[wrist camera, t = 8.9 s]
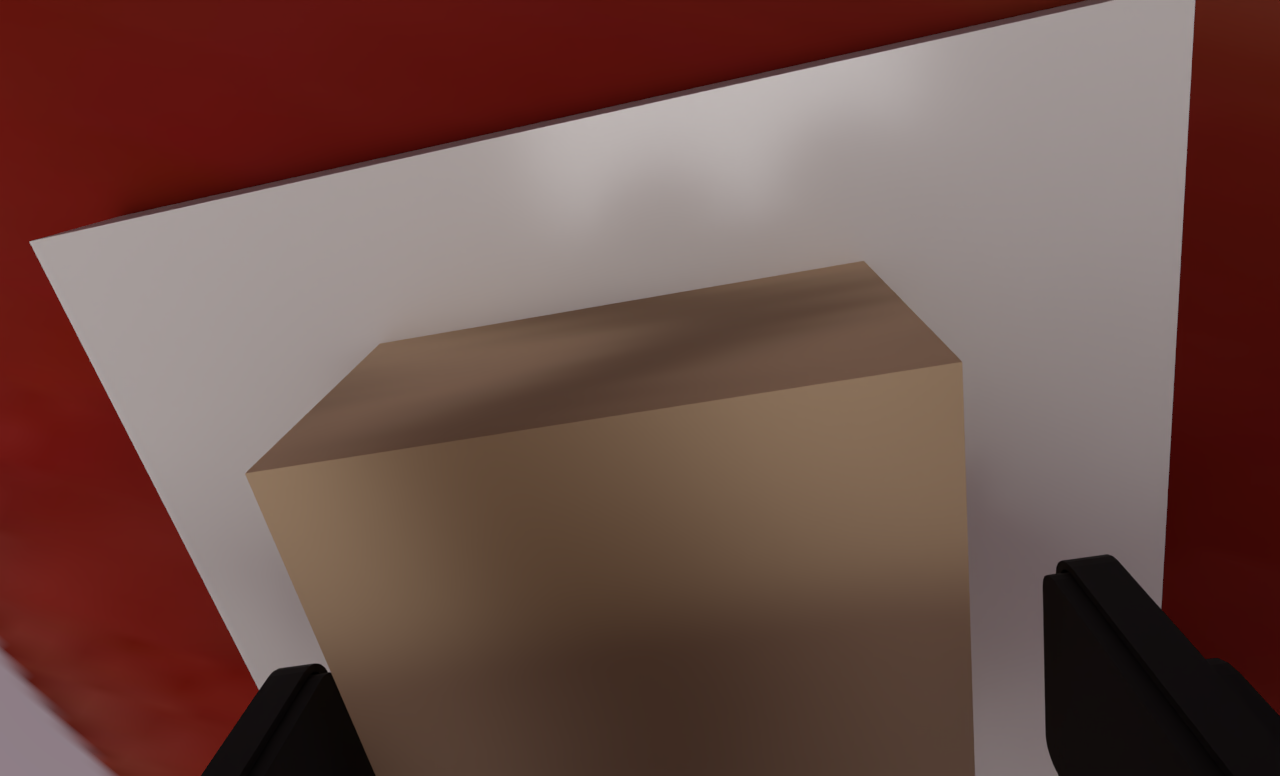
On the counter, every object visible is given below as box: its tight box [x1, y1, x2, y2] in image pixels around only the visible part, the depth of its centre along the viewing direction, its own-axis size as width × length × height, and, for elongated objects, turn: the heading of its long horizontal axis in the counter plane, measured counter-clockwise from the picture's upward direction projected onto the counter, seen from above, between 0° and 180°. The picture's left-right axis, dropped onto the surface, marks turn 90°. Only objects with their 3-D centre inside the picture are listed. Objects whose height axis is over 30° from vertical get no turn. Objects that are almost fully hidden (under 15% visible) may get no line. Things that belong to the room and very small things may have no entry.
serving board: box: [30, 0, 1195, 776], centre depth 14 cm, size 16×14×2 cm
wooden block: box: [245, 261, 975, 776], centre depth 11 cm, size 7×9×4 cm
